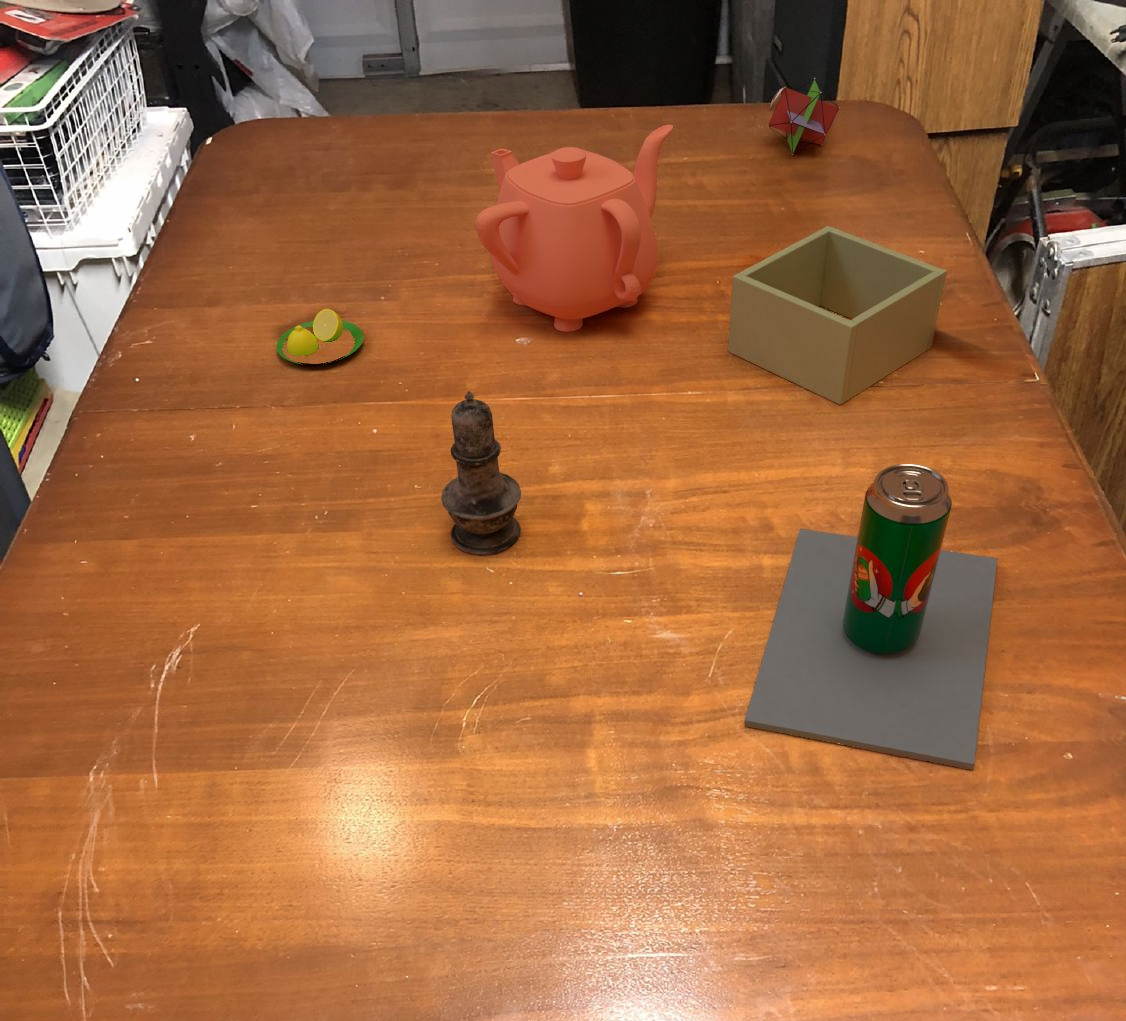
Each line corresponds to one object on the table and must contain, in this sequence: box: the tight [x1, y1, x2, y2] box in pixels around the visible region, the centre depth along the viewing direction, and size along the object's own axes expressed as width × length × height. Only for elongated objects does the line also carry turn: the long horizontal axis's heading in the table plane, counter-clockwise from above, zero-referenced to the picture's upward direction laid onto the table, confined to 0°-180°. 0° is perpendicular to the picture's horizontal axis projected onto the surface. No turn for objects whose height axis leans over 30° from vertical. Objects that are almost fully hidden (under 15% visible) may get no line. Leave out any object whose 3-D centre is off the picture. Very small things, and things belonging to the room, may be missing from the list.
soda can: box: [843, 463, 953, 655], centre depth 74 cm, size 5×5×12 cm
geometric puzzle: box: [767, 77, 841, 156], centre depth 130 cm, size 7×7×8 cm
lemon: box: [276, 308, 365, 365], centre depth 107 cm, size 8×8×3 cm
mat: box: [743, 528, 999, 771], centre depth 79 cm, size 20×14×1 cm
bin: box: [727, 225, 948, 406], centre depth 101 cm, size 13×13×7 cm
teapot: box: [475, 124, 674, 333], centre depth 107 cm, size 16×17×14 cm
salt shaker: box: [440, 390, 522, 556], centre depth 84 cm, size 6×6×12 cm
